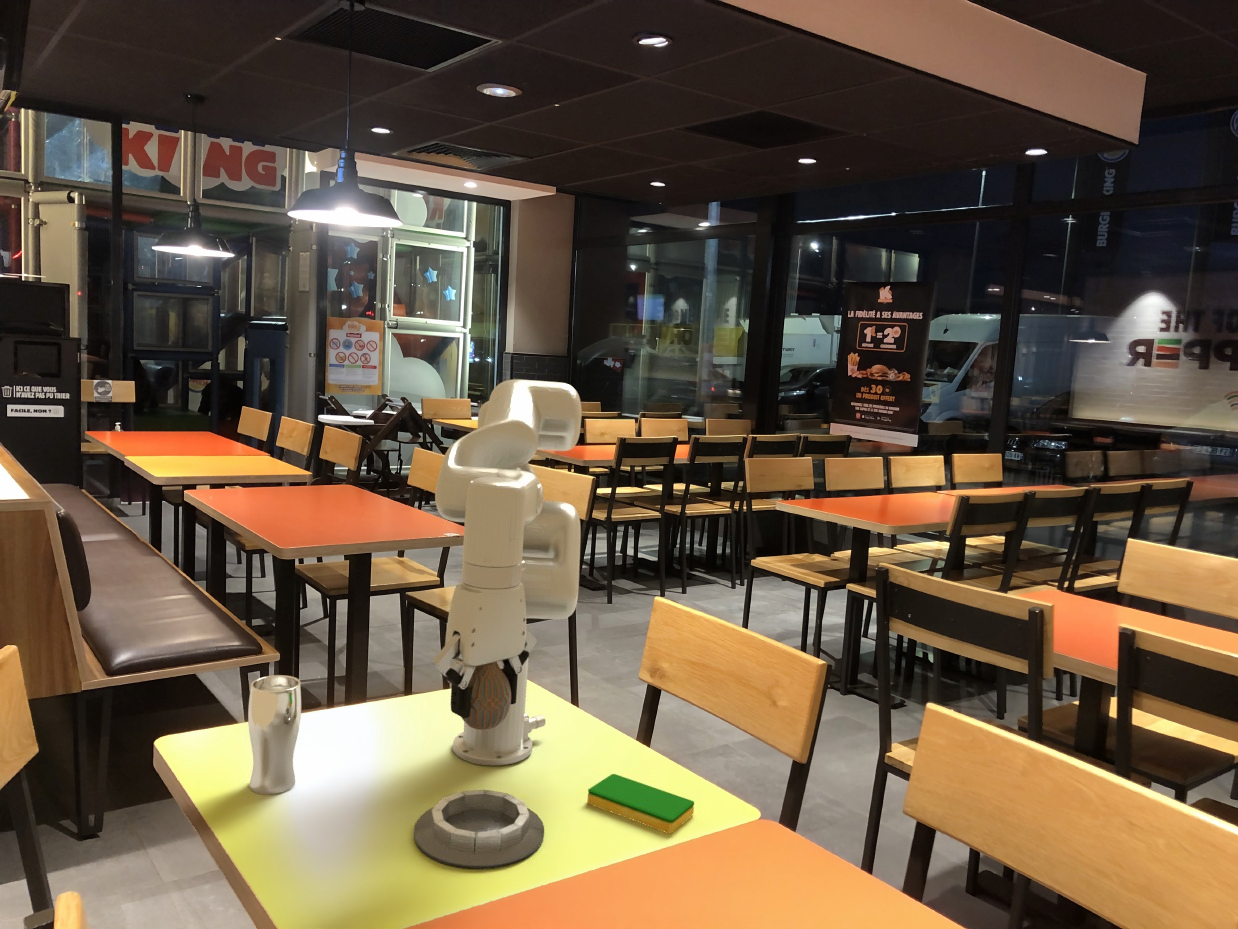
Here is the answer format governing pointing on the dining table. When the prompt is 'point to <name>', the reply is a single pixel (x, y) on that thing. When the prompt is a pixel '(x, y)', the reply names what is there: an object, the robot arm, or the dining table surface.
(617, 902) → the dining table surface
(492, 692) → the vase
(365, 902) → the dining table surface
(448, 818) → the ring seat
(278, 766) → the beer glass
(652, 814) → the dish sponge
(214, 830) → the dining table surface
